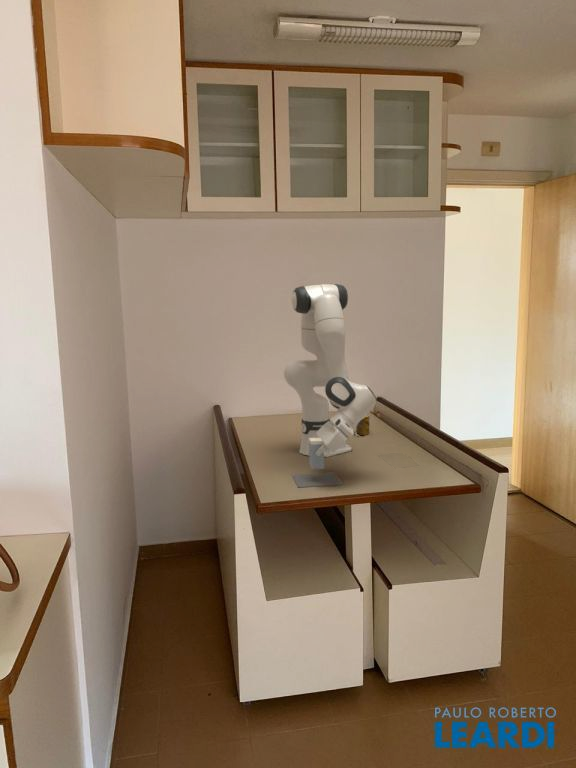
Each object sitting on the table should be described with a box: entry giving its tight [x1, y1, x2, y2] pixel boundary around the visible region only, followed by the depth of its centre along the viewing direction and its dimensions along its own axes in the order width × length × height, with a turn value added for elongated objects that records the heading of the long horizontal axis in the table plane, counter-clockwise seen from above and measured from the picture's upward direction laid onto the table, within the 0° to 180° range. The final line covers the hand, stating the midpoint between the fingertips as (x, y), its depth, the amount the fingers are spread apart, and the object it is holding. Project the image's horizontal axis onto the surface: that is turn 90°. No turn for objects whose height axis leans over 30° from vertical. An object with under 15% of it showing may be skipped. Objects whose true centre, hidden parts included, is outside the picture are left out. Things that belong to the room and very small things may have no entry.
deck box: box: [308, 437, 325, 470], centre depth 210 cm, size 5×5×10 cm
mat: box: [291, 471, 344, 489], centre depth 212 cm, size 16×14×1 cm
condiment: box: [355, 413, 370, 436], centre depth 276 cm, size 7×8×12 cm
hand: (314, 452), depth 210 cm, fingers closed on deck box, 5 cm apart
